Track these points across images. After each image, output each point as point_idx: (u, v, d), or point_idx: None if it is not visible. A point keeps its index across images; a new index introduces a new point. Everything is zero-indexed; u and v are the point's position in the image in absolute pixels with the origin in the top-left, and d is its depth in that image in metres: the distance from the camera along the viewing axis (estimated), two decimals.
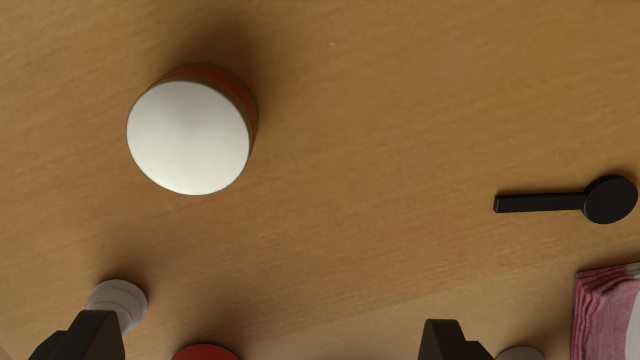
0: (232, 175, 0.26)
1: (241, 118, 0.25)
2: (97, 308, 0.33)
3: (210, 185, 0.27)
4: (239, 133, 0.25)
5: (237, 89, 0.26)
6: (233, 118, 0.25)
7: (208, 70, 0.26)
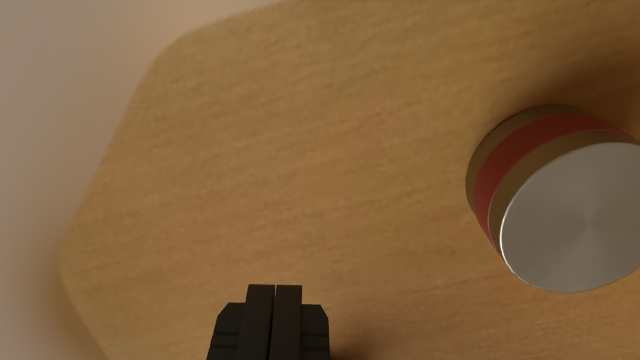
0: (623, 271, 0.19)
1: None
2: None
3: (586, 282, 0.19)
4: None
5: None
6: None
7: (605, 122, 0.18)
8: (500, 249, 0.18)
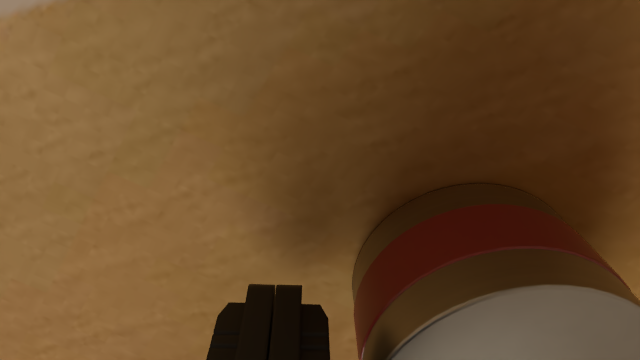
0: None
1: None
2: None
3: None
4: None
5: None
6: None
7: (549, 220, 0.11)
8: None
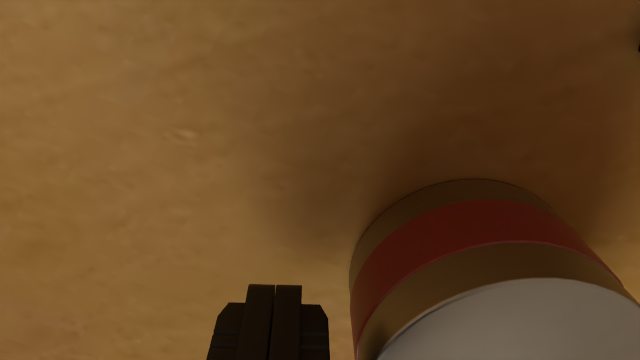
0: None
1: None
2: None
3: None
4: None
5: None
6: None
7: (541, 215, 0.11)
8: None
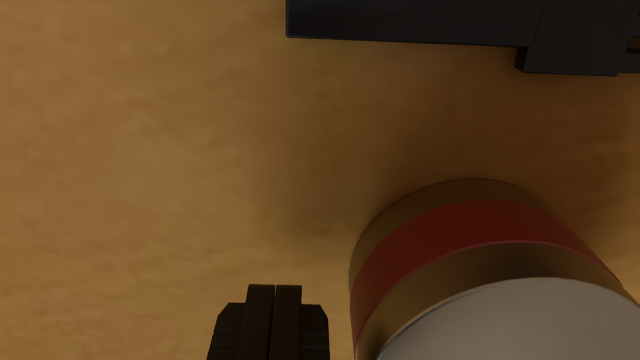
0: None
1: None
2: None
3: None
4: None
5: None
6: None
7: (540, 215, 0.11)
8: None
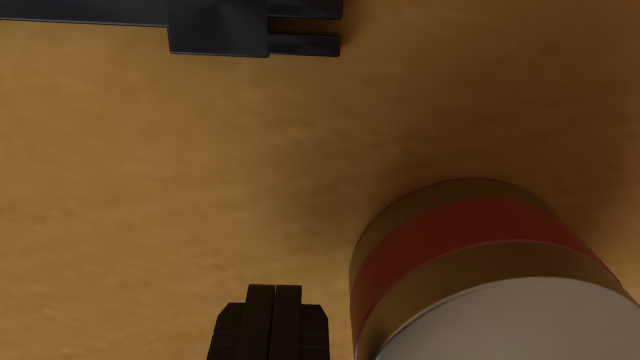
0: None
1: None
2: None
3: None
4: None
5: None
6: None
7: (539, 214, 0.11)
8: None
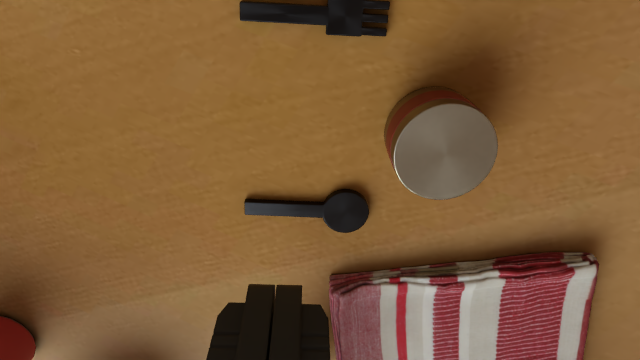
0: (472, 184, 0.31)
1: (495, 138, 0.29)
2: None
3: (451, 192, 0.31)
4: (490, 150, 0.30)
5: None
6: (489, 137, 0.29)
7: (458, 94, 0.31)
8: None
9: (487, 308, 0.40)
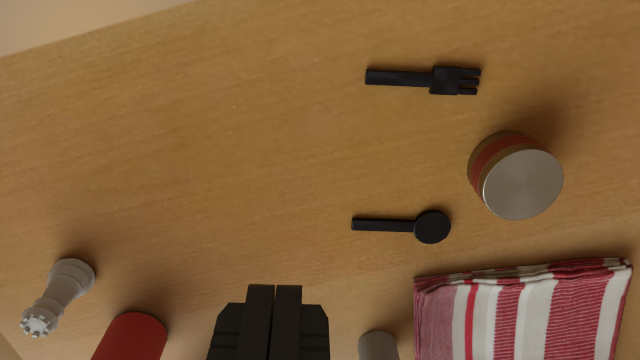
0: (541, 208, 0.40)
1: (562, 174, 0.38)
2: (56, 278, 0.45)
3: (525, 214, 0.40)
4: (557, 183, 0.39)
5: None
6: (557, 173, 0.38)
7: (531, 139, 0.40)
8: (483, 199, 0.40)
9: (541, 303, 0.49)
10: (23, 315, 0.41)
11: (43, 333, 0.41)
